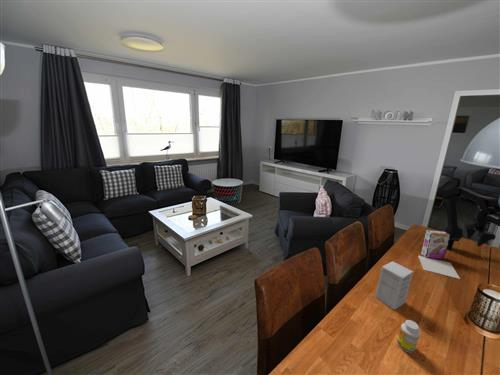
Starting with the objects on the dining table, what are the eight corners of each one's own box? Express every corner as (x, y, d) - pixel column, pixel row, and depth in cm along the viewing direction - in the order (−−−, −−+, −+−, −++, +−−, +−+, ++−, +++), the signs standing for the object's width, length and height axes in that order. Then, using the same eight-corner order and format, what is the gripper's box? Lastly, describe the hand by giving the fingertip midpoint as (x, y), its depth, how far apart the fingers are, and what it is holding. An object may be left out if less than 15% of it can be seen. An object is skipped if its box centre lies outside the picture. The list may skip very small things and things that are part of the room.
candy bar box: (425, 258, 140) (431, 232, 137) (420, 254, 145) (425, 229, 142) (445, 259, 139) (450, 234, 136) (439, 255, 144) (444, 231, 141)
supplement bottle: (397, 336, 87) (404, 315, 84) (415, 345, 84) (422, 323, 81) (395, 346, 83) (401, 324, 80) (413, 356, 80) (421, 334, 77)
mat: (418, 256, 143) (418, 255, 142) (450, 263, 136) (450, 263, 136) (424, 270, 129) (424, 269, 129) (460, 279, 122) (460, 278, 122)
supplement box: (405, 303, 104) (414, 271, 99) (395, 310, 99) (404, 278, 95) (384, 289, 112) (392, 260, 107) (374, 296, 107) (381, 265, 103)
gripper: (456, 210, 142) (449, 232, 146) (476, 223, 124) (466, 247, 129) (478, 213, 139) (469, 235, 144) (501, 226, 122) (490, 251, 126)
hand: (473, 242), depth 136 cm, fingers open, 9 cm apart
